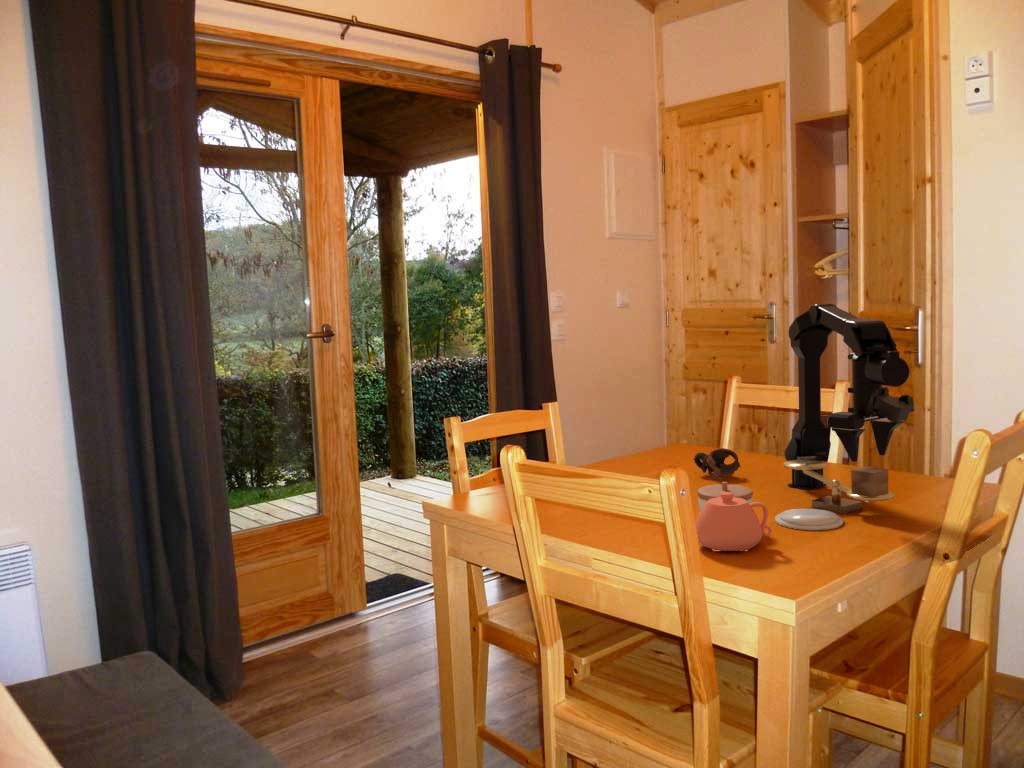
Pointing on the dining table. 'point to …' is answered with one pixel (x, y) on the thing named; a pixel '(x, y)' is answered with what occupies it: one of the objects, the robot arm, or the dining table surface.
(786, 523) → the dish
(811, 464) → the balance
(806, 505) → the dining table surface
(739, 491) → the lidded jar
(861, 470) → the block
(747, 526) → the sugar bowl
